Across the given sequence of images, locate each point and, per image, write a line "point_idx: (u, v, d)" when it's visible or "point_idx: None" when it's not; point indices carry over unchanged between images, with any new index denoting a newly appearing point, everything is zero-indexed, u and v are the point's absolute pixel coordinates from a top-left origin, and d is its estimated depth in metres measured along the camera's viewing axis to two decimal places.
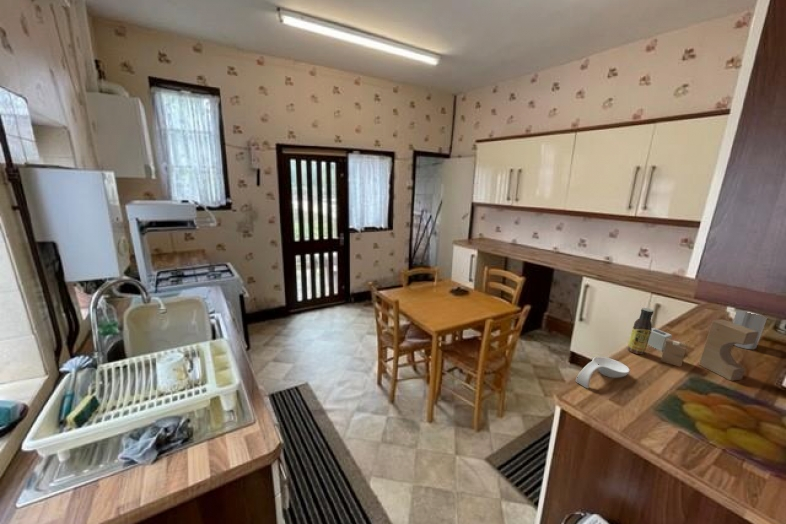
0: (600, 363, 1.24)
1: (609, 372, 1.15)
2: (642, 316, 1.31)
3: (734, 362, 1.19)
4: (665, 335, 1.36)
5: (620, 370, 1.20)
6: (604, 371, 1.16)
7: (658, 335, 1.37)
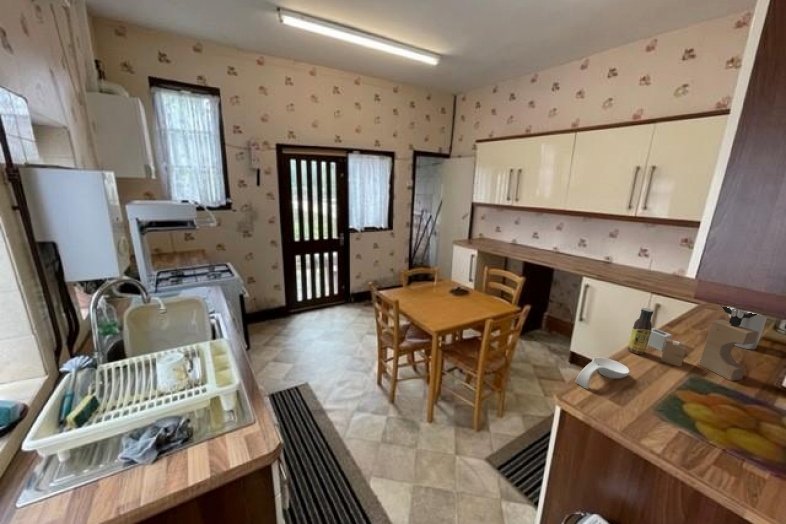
0: (600, 364, 1.23)
1: (608, 373, 1.15)
2: (642, 316, 1.31)
3: (734, 362, 1.19)
4: (665, 335, 1.36)
5: (620, 371, 1.20)
6: (604, 372, 1.15)
7: (658, 335, 1.37)
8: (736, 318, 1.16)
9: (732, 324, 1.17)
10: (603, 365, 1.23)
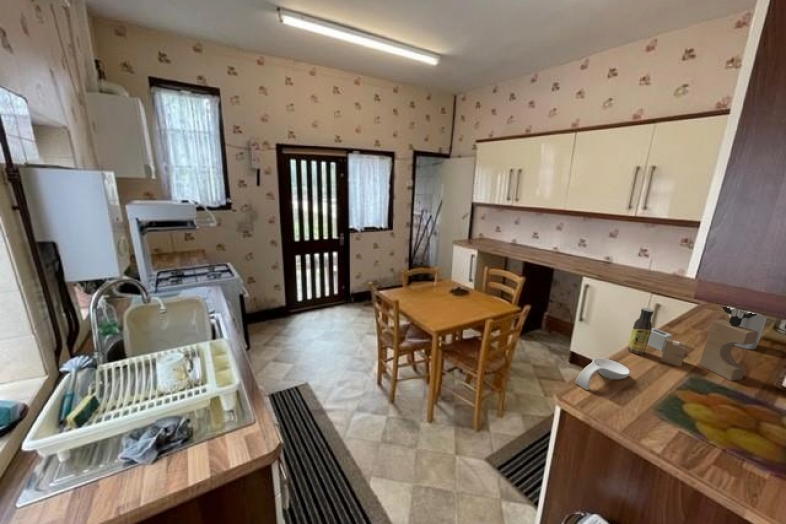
0: (600, 364, 1.23)
1: (608, 374, 1.14)
2: (642, 316, 1.31)
3: (734, 362, 1.19)
4: (665, 335, 1.36)
5: (620, 372, 1.19)
6: (604, 373, 1.15)
7: (658, 335, 1.37)
8: (736, 318, 1.16)
9: (732, 324, 1.17)
10: (603, 366, 1.23)
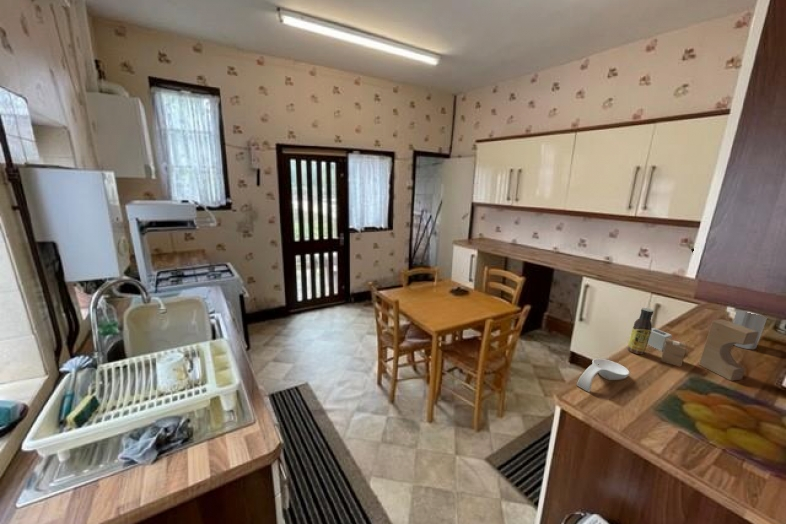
0: (599, 365, 1.23)
1: (609, 375, 1.13)
2: (642, 316, 1.31)
3: (734, 362, 1.19)
4: (665, 335, 1.36)
5: (619, 372, 1.19)
6: (604, 374, 1.14)
7: (658, 335, 1.37)
8: None
9: None
10: (602, 366, 1.22)
